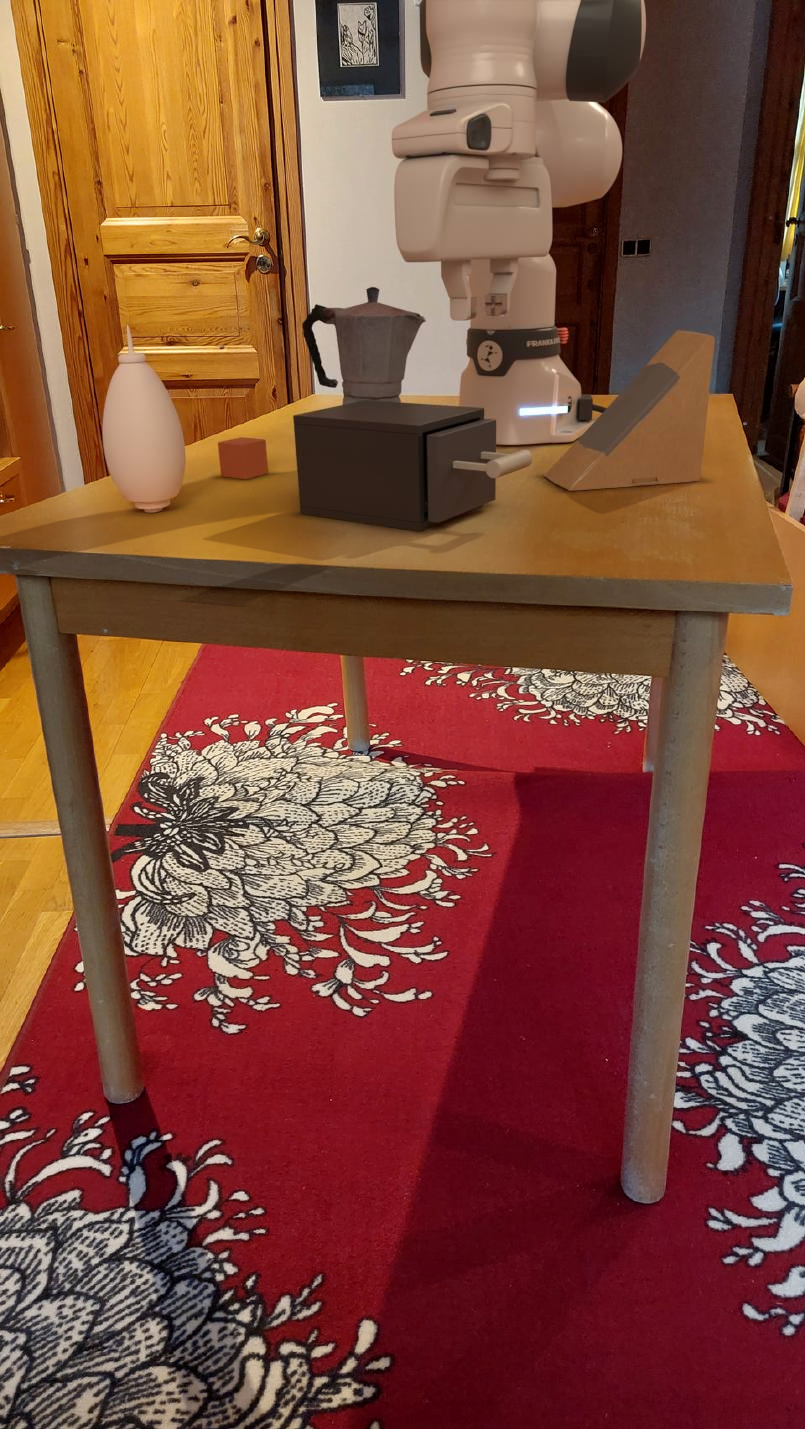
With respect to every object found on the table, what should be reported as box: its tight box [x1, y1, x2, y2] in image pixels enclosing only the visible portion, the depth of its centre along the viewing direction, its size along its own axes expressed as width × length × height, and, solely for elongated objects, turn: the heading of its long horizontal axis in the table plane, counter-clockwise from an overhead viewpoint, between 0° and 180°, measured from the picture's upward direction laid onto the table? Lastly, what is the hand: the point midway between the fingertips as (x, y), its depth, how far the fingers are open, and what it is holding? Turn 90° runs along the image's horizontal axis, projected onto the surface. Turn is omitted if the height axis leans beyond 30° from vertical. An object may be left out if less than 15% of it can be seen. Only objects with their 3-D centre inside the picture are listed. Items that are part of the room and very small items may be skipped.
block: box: [217, 436, 269, 480], centre depth 116 cm, size 4×4×4 cm
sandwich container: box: [543, 329, 716, 492], centre depth 106 cm, size 9×15×15 cm, turn 102°
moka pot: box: [301, 286, 427, 405], centre depth 119 cm, size 10×15×20 cm, turn 78°
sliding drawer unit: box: [422, 419, 533, 523], centre depth 94 cm, size 19×10×8 cm, turn 55°
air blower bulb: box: [101, 324, 187, 513], centre depth 98 cm, size 8×8×18 cm
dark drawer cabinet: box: [292, 400, 485, 532], centre depth 97 cm, size 15×12×10 cm
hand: (480, 318), depth 86 cm, fingers open, 4 cm apart
